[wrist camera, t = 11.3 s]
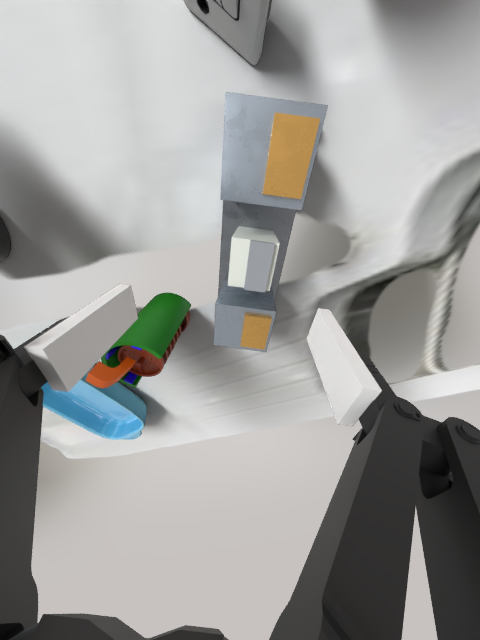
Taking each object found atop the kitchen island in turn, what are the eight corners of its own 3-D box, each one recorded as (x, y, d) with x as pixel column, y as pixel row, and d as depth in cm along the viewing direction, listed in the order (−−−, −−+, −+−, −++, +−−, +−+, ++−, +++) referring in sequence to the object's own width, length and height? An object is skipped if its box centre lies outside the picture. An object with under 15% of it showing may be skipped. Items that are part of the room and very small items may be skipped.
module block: (235, 263, 34) (227, 287, 25) (238, 226, 31) (231, 238, 22) (266, 267, 34) (269, 293, 25) (273, 230, 31) (280, 244, 22)
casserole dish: (23, 365, 56) (-5, 385, 50) (56, 330, 48) (27, 349, 42) (128, 425, 71) (116, 447, 65) (168, 407, 62) (158, 429, 56)
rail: (217, 319, 42) (206, 353, 33) (229, 110, 24) (213, 59, 15) (267, 326, 42) (270, 361, 33) (315, 121, 24) (349, 77, 15)
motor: (182, 336, 45) (139, 419, 29) (145, 321, 44) (76, 399, 27) (196, 303, 40) (153, 379, 23) (155, 284, 39) (76, 352, 22)
